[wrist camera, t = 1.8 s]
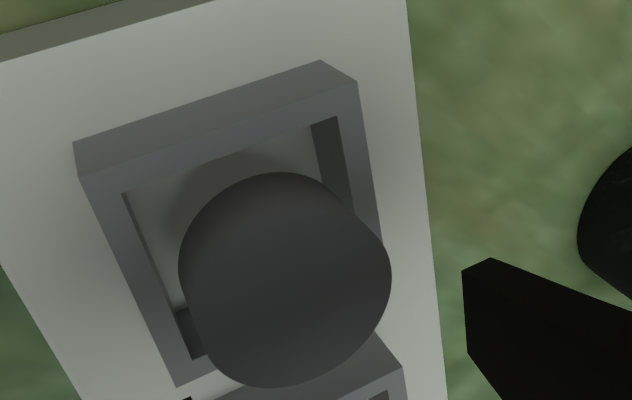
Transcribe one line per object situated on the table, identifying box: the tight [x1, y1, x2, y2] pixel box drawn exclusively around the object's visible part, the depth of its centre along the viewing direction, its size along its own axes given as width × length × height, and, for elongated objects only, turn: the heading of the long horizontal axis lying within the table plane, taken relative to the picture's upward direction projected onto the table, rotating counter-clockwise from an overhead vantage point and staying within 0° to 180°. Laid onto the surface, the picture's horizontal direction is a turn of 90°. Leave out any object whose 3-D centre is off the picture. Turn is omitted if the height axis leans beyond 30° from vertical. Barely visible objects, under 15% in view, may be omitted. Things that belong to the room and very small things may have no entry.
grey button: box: [178, 172, 392, 388], centre depth 12 cm, size 4×4×2 cm
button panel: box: [0, 0, 448, 400], centre depth 18 cm, size 11×19×5 cm, turn 12°
